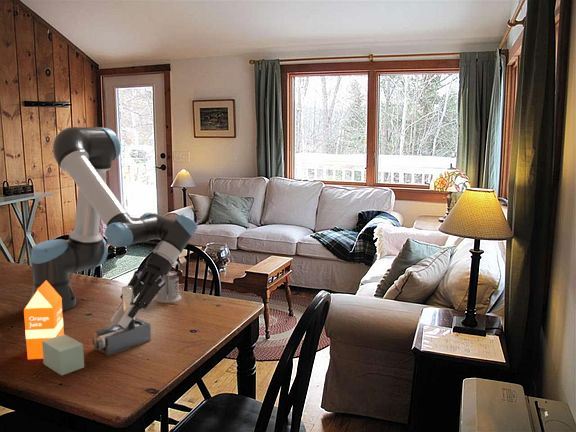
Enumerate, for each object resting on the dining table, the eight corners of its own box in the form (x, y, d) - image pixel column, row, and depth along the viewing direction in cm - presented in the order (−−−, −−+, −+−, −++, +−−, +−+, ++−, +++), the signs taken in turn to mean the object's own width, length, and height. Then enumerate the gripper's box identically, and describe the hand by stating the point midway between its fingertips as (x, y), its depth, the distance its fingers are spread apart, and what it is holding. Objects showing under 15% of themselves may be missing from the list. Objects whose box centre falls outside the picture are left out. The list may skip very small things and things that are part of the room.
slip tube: (135, 333, 155) (133, 283, 152) (142, 336, 153) (140, 286, 150) (92, 348, 144) (89, 295, 142) (99, 351, 142) (96, 298, 139)
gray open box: (136, 333, 158) (136, 318, 157) (150, 340, 153) (150, 323, 152) (94, 348, 147) (93, 331, 146) (108, 355, 142) (107, 338, 141)
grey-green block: (65, 356, 142) (64, 334, 141) (84, 367, 135) (82, 344, 134) (43, 364, 137) (41, 341, 136) (61, 375, 131) (60, 351, 130)
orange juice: (27, 359, 140) (21, 290, 136) (37, 346, 148) (32, 280, 145) (57, 357, 141) (52, 288, 137) (65, 344, 149) (61, 279, 146)
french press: (182, 293, 197) (180, 230, 193) (180, 303, 185) (179, 237, 181) (156, 294, 195) (153, 231, 191) (153, 304, 184) (150, 237, 180)
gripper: (186, 270, 155) (142, 337, 145) (154, 261, 165) (110, 323, 155) (172, 256, 150) (125, 325, 140) (139, 248, 160) (94, 311, 150)
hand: (117, 324), depth 148 cm, fingers closed on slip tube, 3 cm apart
